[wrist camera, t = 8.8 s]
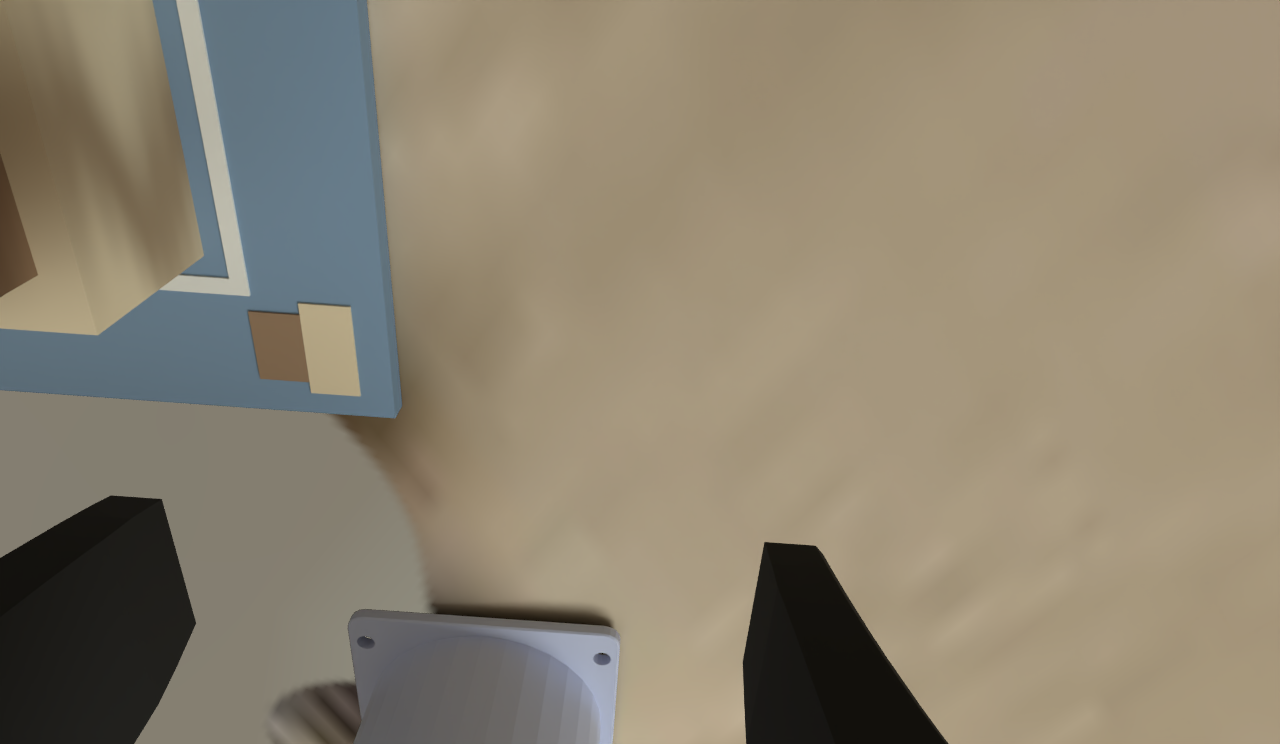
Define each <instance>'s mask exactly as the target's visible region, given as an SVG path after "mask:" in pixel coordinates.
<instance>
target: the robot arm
mask: <svg viewBox="0 0 1280 744" xmlns="http://www.w3.org/2000/svg"><path fill="white" fill-rule="evenodd" d="M195 624H196V622H195V618H194V614H193V611H192V607H191V604H190V600H189V597H188V593H187V589H186V586H185V582H184V578H183V574H182V571H181V567H180V564H179V560H178V556H177V553H176V549H175V546H174V542H173V539H172V535H171V531H170V528H169V524H168V520H167V517H166V513H165V509H164V506H163V502H162V499H152V498H138V497H123V496H109V497H107V498H105V499H103V500H101V501H100V502H97V503H95V504H94V505H92V506H90V507H88V508H86V509H84V510H82V511H81V512H79V513H77V514H75V515H73V516H72V517H70V518H68V519H66V520H65V521H63V522H61V523H59V524H58V525H56V526H54V527H52V528H51V529H49V530H47V531H46V532H44V533H42V534H40V535H39V536H37V537H35V538H34V539H32V540H30V541H29V542H27V543H25V544H23V545H22V546H20V547H19V548H17V549H15V550H13V551H12V552H10V553H8V554H6V555H5V556H3V557H1V558H0V744H134V743H135V741H136V739H137V738H138V737H139V735H140V733H141V732H142V730H143V728H144V727H145V725H146V724H147V722H148V720H149V719H150V717H151V715H152V714H153V712H154V710H155V709H156V707H157V706H158V704H159V702H160V700H161V698H162V696H163V694H164V692H165V690H166V688H167V686H168V683H169V681H170V679H171V677H172V675H173V673H174V671H175V669H176V667H177V665H178V662H179V660H180V658H181V656H182V654H183V651H184V649H185V647H186V645H187V642H188V640H189V638H190V636H191V633H192V631H193V629H194V626H195ZM348 633H349V639H350V646H351V653H352V660H353V667H354V673H355V680H356V687H357V694H358V701H359V708H360V714H361V721H362V722H361V724H360V727H359V729H358V732H357V735H356V737H355V740H354V743H353V744H613V730H614V717H615V704H616V690H617V677H618V664H619V650H620V635H619V633H618V632H617V631H616V630H615V629H613V628H611V627H607V626H600V625H585V624H571V623H557V622H542V621H528V620H514V619H499V618H485V617H471V616H457V615H442V614H428V613H413V612H399V611H385V610H371V609H363V610H358V611H356V612H355V613H354V614H353V615H352V617H351V619H350V621H349V623H348ZM365 636H366V637H370V638H371V639H369V638H366V637H365ZM598 653H605V654H607V655H601V654H598ZM743 679H744V706H745V727H746V744H948V743H947V741H946V740H945V739H944V737H943V736H942V735H941V733H940V732H939V731H938V729H937V728H936V727H935V725H934V724H933V723H932V721H931V720H930V718H929V717H928V716H927V714H926V713H925V712H924V710H923V709H922V708H921V706H920V705H919V703H918V702H917V700H916V699H915V698H914V696H913V695H912V693H911V692H910V690H909V689H908V687H907V686H906V685H905V683H904V682H903V680H902V679H901V677H900V676H899V675H898V673H897V672H896V670H895V669H894V667H893V666H892V664H891V663H890V662H889V660H888V659H887V657H886V656H885V654H884V653H883V651H882V650H881V648H880V647H879V645H878V644H877V642H876V641H875V639H874V637H873V636H872V634H871V633H870V631H869V630H868V628H867V627H866V625H865V623H864V622H863V620H862V619H861V617H860V615H859V614H858V612H857V611H856V609H855V608H854V606H853V604H852V603H851V601H850V599H849V598H848V596H847V595H846V593H845V591H844V590H843V588H842V586H841V585H840V583H839V581H838V579H837V578H836V576H835V574H834V573H833V571H832V569H831V568H830V566H829V564H828V562H827V561H826V559H825V557H824V555H823V554H822V553H821V552H820V550H819V549H818V548H817V547H816V546H811V545H797V544H783V543H769V542H764V548H763V554H762V559H761V565H760V570H759V576H758V581H757V587H756V592H755V598H754V603H753V609H752V614H751V620H750V625H749V631H748V636H747V642H746V647H745V653H744V658H743Z"/></svg>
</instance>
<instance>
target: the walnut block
mask: <svg viewBox="0 0 1280 744" xmlns="http://www.w3.org/2000/svg"><path fill="white" fill-rule="evenodd" d="M36 276H38V273H37V270H36V267H35V263H34V260H33V257H32V254H31V250H30V247H29V244H28V241H27V238H26V234H25V231H24V228H23V225H22V221H21V218H20V215H19V212H18V209H17V205H16V202H15V199H14V196H13V192H12V189H11V186H10V183H9V180H8V176H7V173H6V170H5V167H4V163H3V160H2V157H1V154H0V297H2V296H3V295H5V294H7V293H8V292H10V291H12V290H14V289H15V288H17V287H19V286H20V285H22V284H24V283H26V282H27V281H29V280H31V279H32V278H34V277H36Z"/></svg>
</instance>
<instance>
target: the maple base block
mask: <svg viewBox="0 0 1280 744" xmlns="http://www.w3.org/2000/svg"><path fill="white" fill-rule="evenodd" d="M0 154H1V157H2V160H3V163H4V167H5V170H6V173H7V176H8V180H9V183H10V186H11V189H12V192H13V196H14V199H15V202H16V205H17V209H18V212H19V215H20V218H21V221H22V225H23V228H24V231H25V234H26V238H27V241H28V244H29V247H30V250H31V254H32V257H33V260H34V263H35V267H36V270H37V273H38V276H36V277H34V278H32V279H31V280H29V281H27V282H26V283H24V284H22V285H20V286H19V287H17V288H15V289H14V290H12V291H10V292H8V293H7V294H5V295H3V296H2V297H0V328H1V329H15V330H29V331H43V332H57V333H71V334H85V335H99V334H100V333H102V332H103V331H104V330H106V329H107V328H108V327H110V326H111V325H112V324H114V323H115V322H116V321H118V320H119V319H120V318H122V317H123V316H124V315H126V314H127V313H128V312H130V311H131V310H132V309H134V308H135V307H136V306H138V305H139V304H140V303H142V302H143V301H145V300H146V299H147V298H149V297H150V296H151V295H153V294H154V293H155V292H157V291H158V290H159V289H161V288H162V287H163V286H165V285H166V284H167V283H169V282H170V281H171V280H173V279H174V278H175V277H177V276H178V275H179V274H181V273H182V272H183V271H185V270H186V269H187V268H189V267H190V266H191V265H193V264H194V263H195V262H197V261H198V260H199V259H201V258H202V257H203V256H204V253H203V248H202V243H201V238H200V233H199V228H198V223H197V218H196V213H195V208H194V203H193V198H192V193H191V188H190V184H189V179H188V174H187V169H186V164H185V159H184V154H183V149H182V144H181V139H180V134H179V129H178V124H177V119H176V114H175V110H174V105H173V100H172V95H171V90H170V85H169V80H168V75H167V70H166V65H165V60H164V55H163V50H162V45H161V41H160V36H159V31H158V26H157V21H156V16H155V11H154V6H153V1H152V0H0Z"/></svg>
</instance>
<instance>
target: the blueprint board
mask: <svg viewBox="0 0 1280 744" xmlns="http://www.w3.org/2000/svg"><path fill="white" fill-rule="evenodd" d="M152 1H153V6H154V11H155V16H156V21H157V26H158V31H159V36H160V41H161V45H162V50H163V55H164V60H165V65H166V70H167V75H168V80H169V85H170V90H171V95H172V100H173V105H174V110H175V114H176V119H177V124H178V129H179V134H180V139H181V144H182V149H183V154H184V159H185V164H186V169H187V174H188V179H189V184H190V188H191V193H192V198H193V203H194V208H195V213H196V218H197V223H198V228H199V233H200V238H201V243H202V248H203V253H204V256H203V257H202V258H201V259H199V260H198V261H197V262H195V263H194V264H193V265H191V266H190V267H189V268H187V269H186V270H185V271H183V272H182V273H181V274H179V275H178V276H177V277H175V278H174V279H173V280H171V281H170V282H169V283H167V284H166V285H165V286H163V287H162V288H161V289H159V290H158V291H157V292H155V293H154V294H153V295H151V296H150V297H149V298H147V299H146V300H145V301H143V302H142V303H140V304H139V305H138V306H136V307H135V308H134V309H132V310H131V311H130V312H128V313H127V314H126V315H124V316H123V317H122V318H120V319H119V320H118V321H116V322H115V323H114V324H112V325H111V326H110V327H108V328H107V329H106V330H104V331H103V332H102V333H100V334H99V335H85V334H71V333H57V332H43V331H29V330H15V329H1V328H0V390H7V391H20V392H36V393H49V394H63V395H77V396H91V397H92V396H93V397H105V398H119V399H133V400H147V401H161V402H175V403H189V404H204V405H217V406H232V407H246V408H259V409H260V408H261V409H273V410H287V411H301V412H302V411H303V412H316V413H329V414H343V415H357V416H371V417H385V418H396V416H397V414H398V412H399V411H400V409H401V407H402V399H401V387H400V376H399V364H398V353H397V341H396V330H395V318H394V307H393V295H392V284H391V273H390V261H389V250H388V238H387V227H386V215H385V204H384V192H383V181H382V170H381V158H380V147H379V135H378V124H377V112H376V101H375V89H374V78H373V67H372V55H371V44H370V32H369V21H368V9H367V0H152Z"/></svg>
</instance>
